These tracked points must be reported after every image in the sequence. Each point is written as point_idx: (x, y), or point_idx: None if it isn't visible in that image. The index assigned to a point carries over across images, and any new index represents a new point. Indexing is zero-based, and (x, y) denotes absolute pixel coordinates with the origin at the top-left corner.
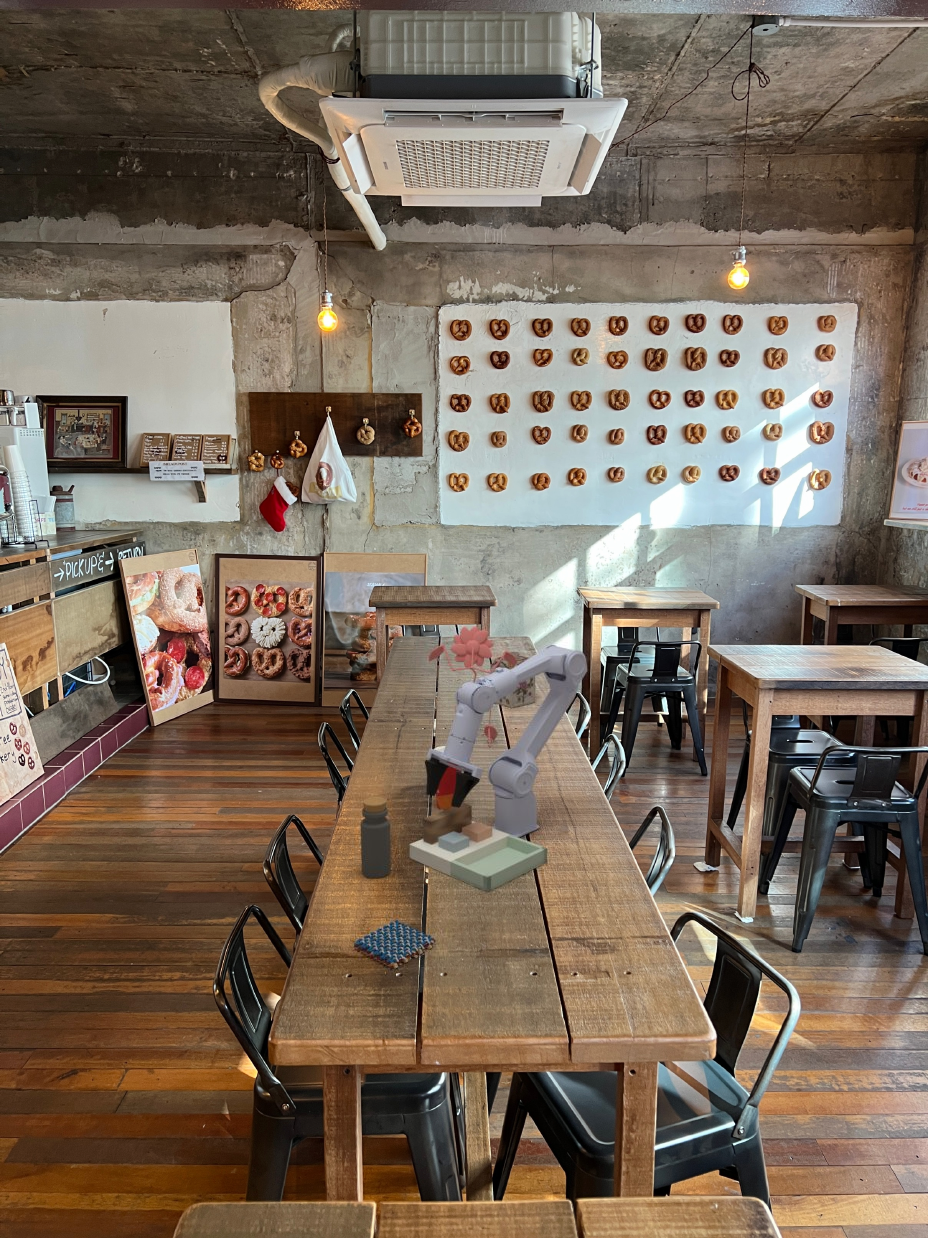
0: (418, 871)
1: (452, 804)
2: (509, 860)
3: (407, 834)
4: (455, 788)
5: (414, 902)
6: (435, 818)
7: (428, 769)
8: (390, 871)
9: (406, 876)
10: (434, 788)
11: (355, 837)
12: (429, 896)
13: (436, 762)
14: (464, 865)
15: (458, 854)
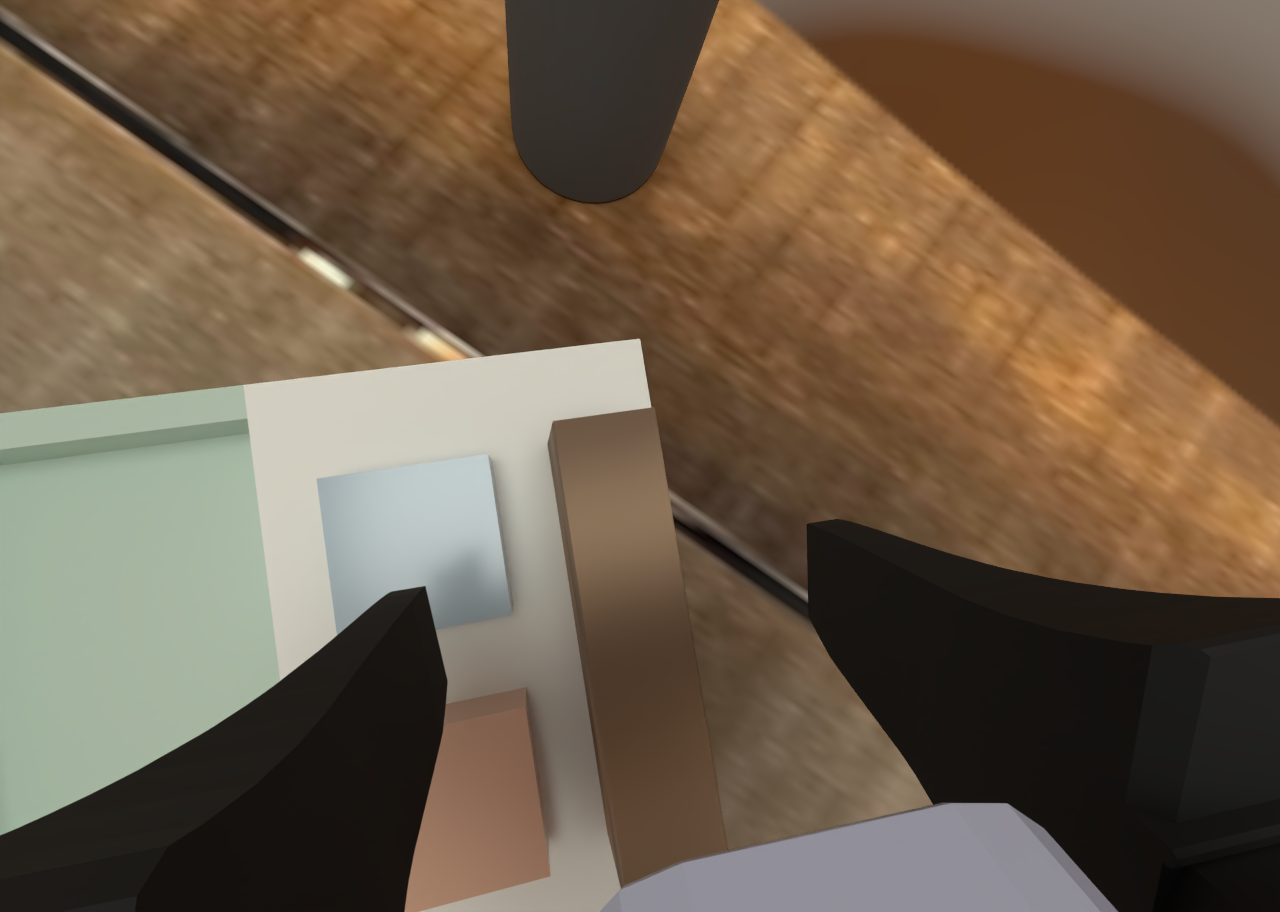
0: (455, 301)
1: (401, 594)
2: None
3: (892, 526)
4: (331, 693)
5: (149, 66)
6: (590, 491)
7: (1095, 605)
8: (535, 174)
9: (446, 217)
10: (849, 633)
11: (1005, 289)
12: (151, 165)
13: (1195, 841)
14: (119, 422)
15: (298, 494)
